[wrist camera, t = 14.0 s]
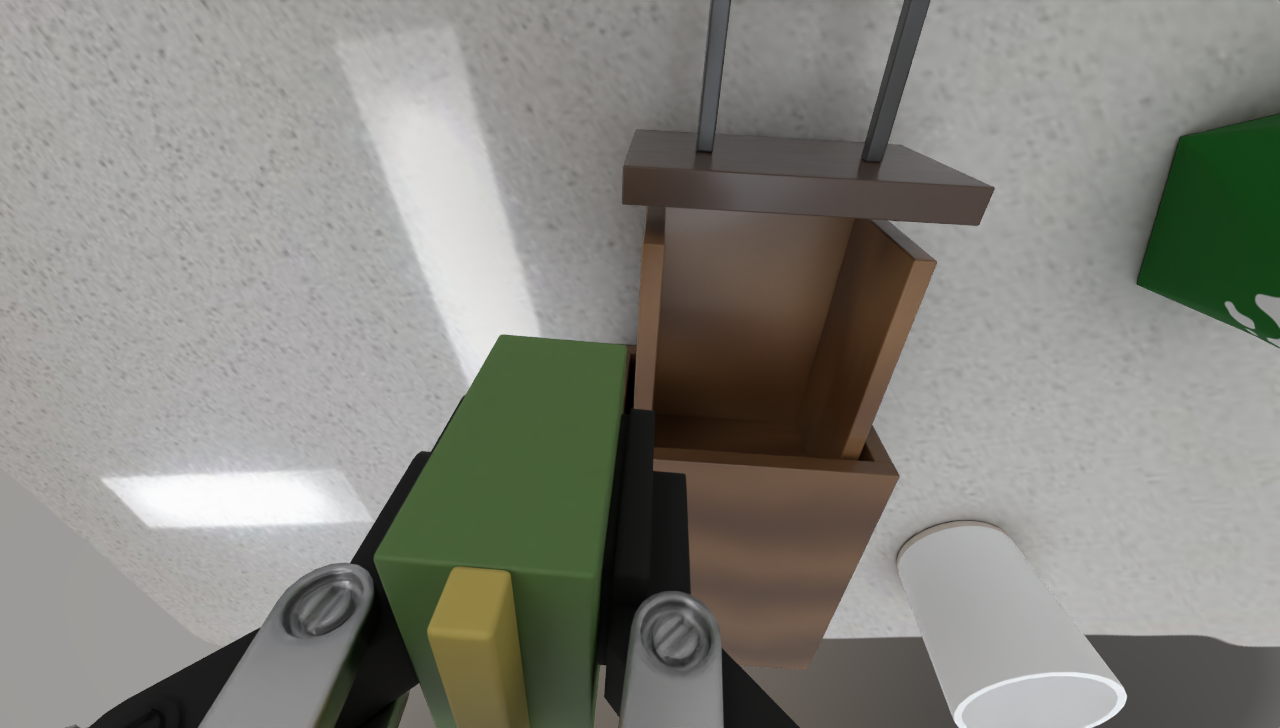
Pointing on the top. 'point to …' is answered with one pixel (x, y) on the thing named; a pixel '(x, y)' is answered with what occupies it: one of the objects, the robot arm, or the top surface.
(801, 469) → the cabinet
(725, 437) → the drawer
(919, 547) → the mug
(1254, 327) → the milk carton
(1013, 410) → the top surface
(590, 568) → the green sponge
